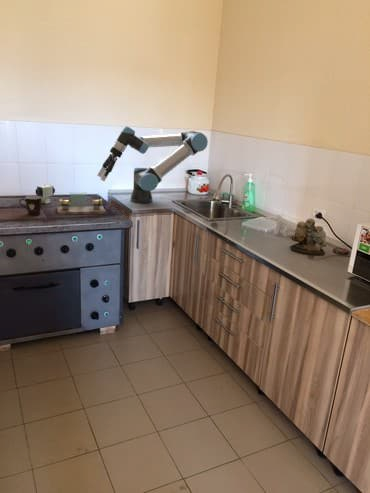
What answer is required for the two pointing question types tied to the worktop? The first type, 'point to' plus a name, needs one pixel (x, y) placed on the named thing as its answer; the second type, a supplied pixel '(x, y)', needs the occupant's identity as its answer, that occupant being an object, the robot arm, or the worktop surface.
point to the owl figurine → (309, 238)
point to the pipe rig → (65, 204)
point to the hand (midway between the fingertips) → (100, 178)
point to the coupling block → (78, 199)
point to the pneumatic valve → (45, 192)
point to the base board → (81, 210)
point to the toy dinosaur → (282, 225)
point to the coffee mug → (33, 205)
